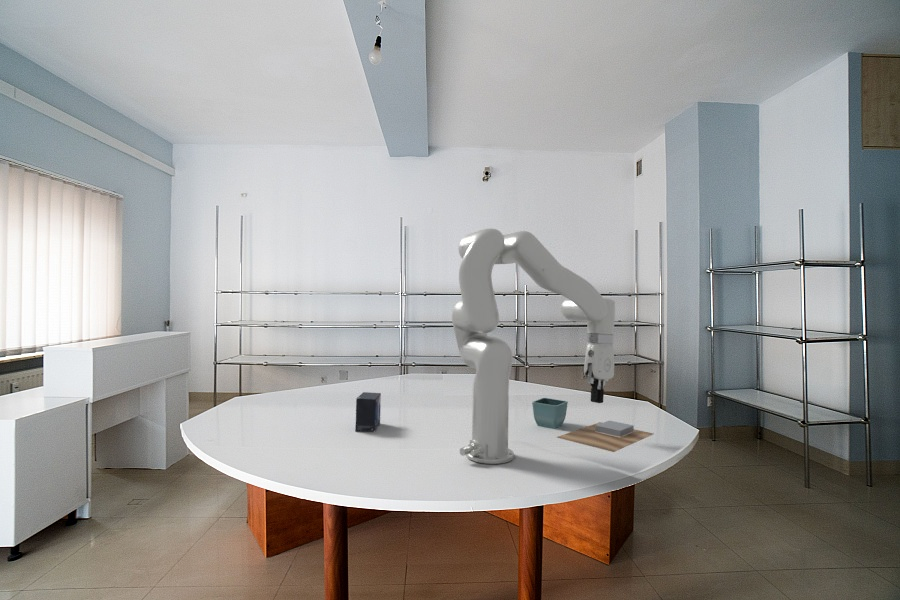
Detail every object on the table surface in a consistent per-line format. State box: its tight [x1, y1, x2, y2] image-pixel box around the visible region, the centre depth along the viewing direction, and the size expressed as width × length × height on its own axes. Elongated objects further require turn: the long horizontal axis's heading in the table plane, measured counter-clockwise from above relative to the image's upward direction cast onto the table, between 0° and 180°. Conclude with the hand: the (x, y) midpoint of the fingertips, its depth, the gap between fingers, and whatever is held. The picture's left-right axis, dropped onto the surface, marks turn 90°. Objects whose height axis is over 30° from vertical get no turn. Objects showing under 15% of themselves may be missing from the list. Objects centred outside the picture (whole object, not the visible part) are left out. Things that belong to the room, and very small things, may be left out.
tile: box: [595, 420, 635, 437], centre depth 145 cm, size 2×8×9 cm
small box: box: [354, 391, 382, 433], centre depth 151 cm, size 11×6×10 cm, turn 179°
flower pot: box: [532, 397, 569, 429], centre depth 152 cm, size 9×9×9 cm
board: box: [556, 422, 654, 453], centre depth 141 cm, size 26×18×1 cm
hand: (596, 402), depth 138 cm, fingers closed
